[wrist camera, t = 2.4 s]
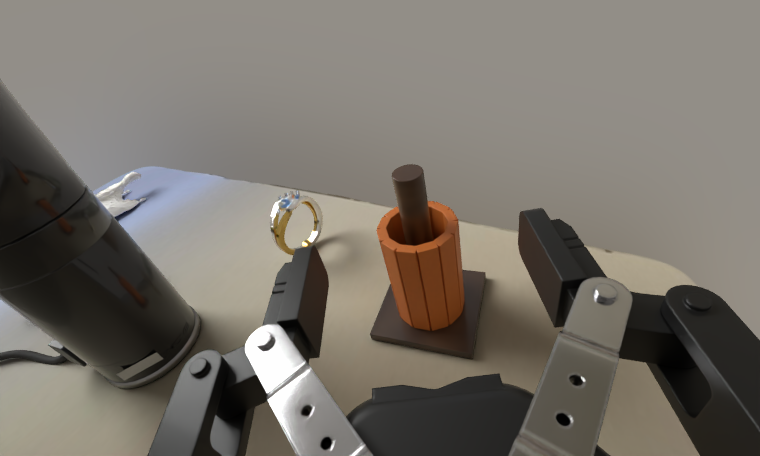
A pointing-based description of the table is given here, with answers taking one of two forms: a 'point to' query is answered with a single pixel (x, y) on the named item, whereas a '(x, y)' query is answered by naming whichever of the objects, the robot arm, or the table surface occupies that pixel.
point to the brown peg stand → (464, 328)
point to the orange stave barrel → (425, 269)
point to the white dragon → (119, 196)
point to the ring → (289, 205)
